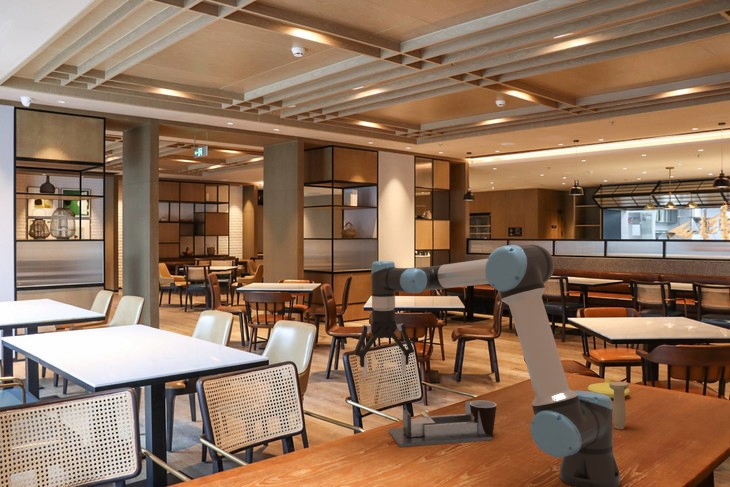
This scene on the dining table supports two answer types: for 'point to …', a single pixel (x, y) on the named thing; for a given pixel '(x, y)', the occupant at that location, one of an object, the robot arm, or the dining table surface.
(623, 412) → the handle
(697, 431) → the dining table surface
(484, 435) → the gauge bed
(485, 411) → the coffee mug
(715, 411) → the dining table surface
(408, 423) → the grey bracket
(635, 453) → the dining table surface
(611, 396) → the yellow pot lid
